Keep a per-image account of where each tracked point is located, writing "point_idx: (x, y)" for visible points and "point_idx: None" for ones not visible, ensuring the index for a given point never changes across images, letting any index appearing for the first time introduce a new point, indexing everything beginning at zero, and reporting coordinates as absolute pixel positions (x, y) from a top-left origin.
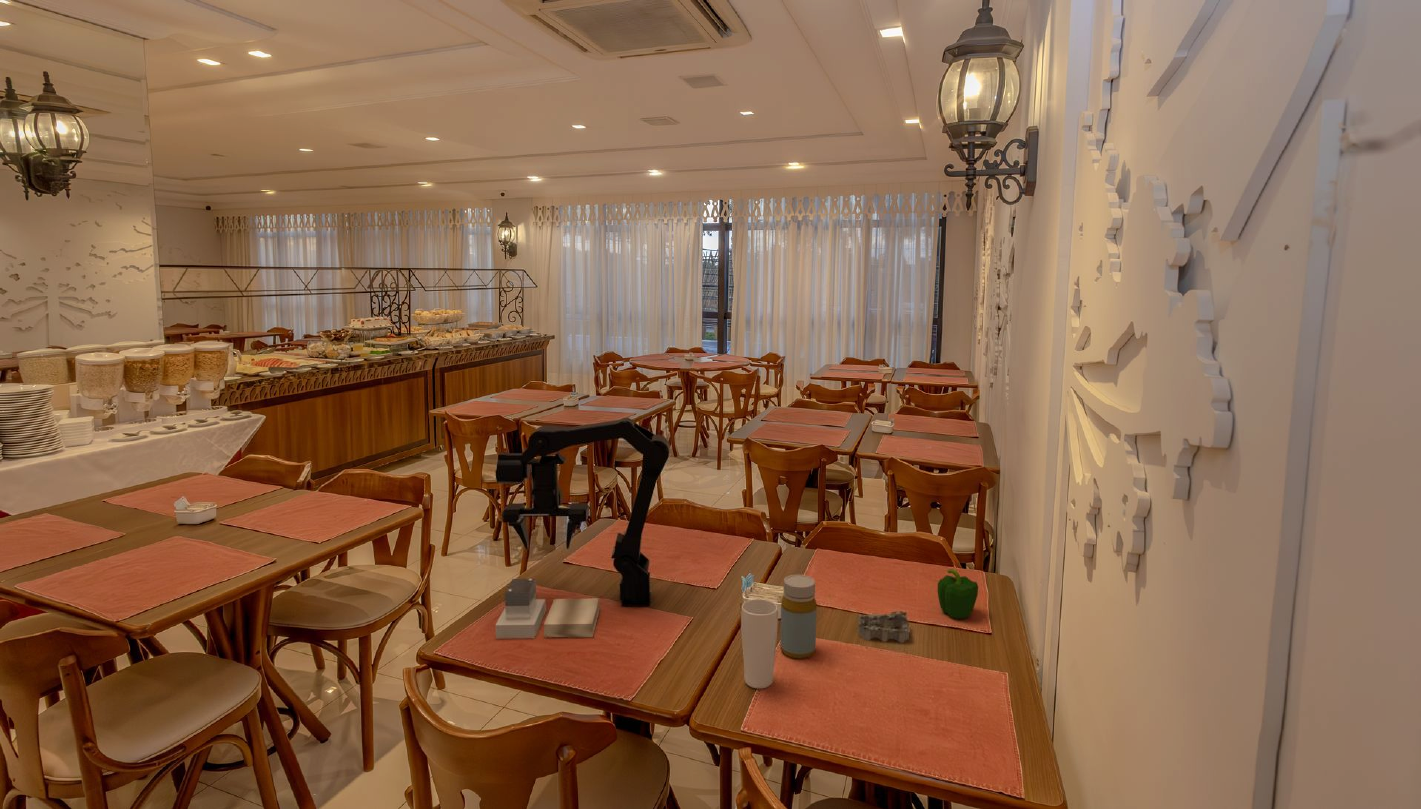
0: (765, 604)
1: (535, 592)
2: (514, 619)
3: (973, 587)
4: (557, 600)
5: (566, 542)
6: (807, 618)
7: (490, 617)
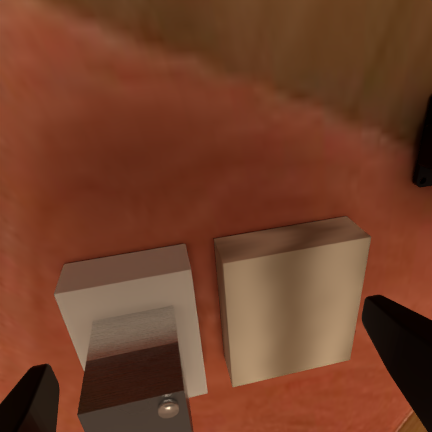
0: None
1: (179, 350)
2: None
3: None
4: (236, 271)
5: (399, 386)
6: None
7: (16, 301)
